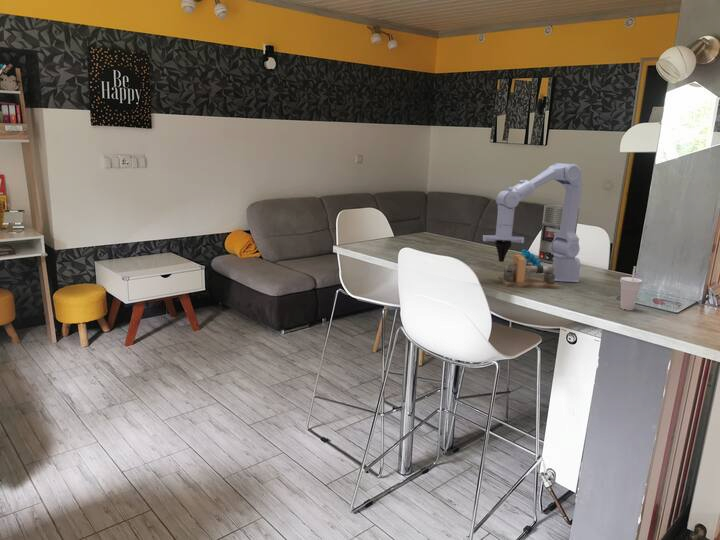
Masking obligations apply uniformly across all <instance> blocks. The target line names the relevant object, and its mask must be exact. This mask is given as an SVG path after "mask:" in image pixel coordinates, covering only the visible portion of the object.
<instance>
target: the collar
mask: <svg viewBox="0 0 720 540" xmlns="http://www.w3.org/2000/svg"><path fill="white" fill-rule="evenodd" d="M512 265H517V270H516V272H514V271H512V272H513V273H514V274H513V279H514V280H515V281H516V282H517V283H524V278H525V277H526V276H525V275H526V272H525V269H526V266H527V265H526V259H525V258H524V257H523V255H521V254H513V259H512Z"/></svg>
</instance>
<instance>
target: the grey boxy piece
mask: <svg viewBox="0 0 720 540" xmlns="http://www.w3.org/2000/svg"><path fill="white" fill-rule="evenodd" d="M562 212H563V205H559V204H544V207H543V214H542V215H543V216H542V223H541V232H540V241H539V250H538V257H537V258H538V260H537V261H540V262H541V263H548V264H551V265H553V259H554V255H553V251H552V250H551V243H552V241H553V240H554V236H555V234H556V233H557V232H559V230H560V224H561V218H562ZM579 213H580V209H579V210H578V216H577V222H576V228H575V234H576V235H577V228H578V222H579V221H578V220H579V215H580V214H579Z"/></svg>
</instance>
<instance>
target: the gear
mask: <svg viewBox="0 0 720 540" xmlns="http://www.w3.org/2000/svg"><path fill="white" fill-rule="evenodd" d="M520 252H521V254H522V255H521V256H523V257H524V258H525V259H526V266H528V264H529V263H531V264H532V266H542V264H541V263H542V261H538V257H537V256H535V254H534V253H531V252H530V251H529V250H526V248H524V249H521V251H520Z"/></svg>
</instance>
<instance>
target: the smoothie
mask: <svg viewBox="0 0 720 540" xmlns="http://www.w3.org/2000/svg"><path fill="white" fill-rule="evenodd" d="M636 267H637V266H635V265H634V266H633V269H632V277H631V276H630V277H629V276H628V277H627V276H622V277H620V280H619V281H620V307H621V308H622V309H621V308H620V309H621V310H624V309H626V310H625V311H634V308H635V305H636V301H637V299H638V295H639V292H640V289H641V285H642V284H643V280H642V279H640V278H636V277H635V275H636V269H637V268H636Z"/></svg>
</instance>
